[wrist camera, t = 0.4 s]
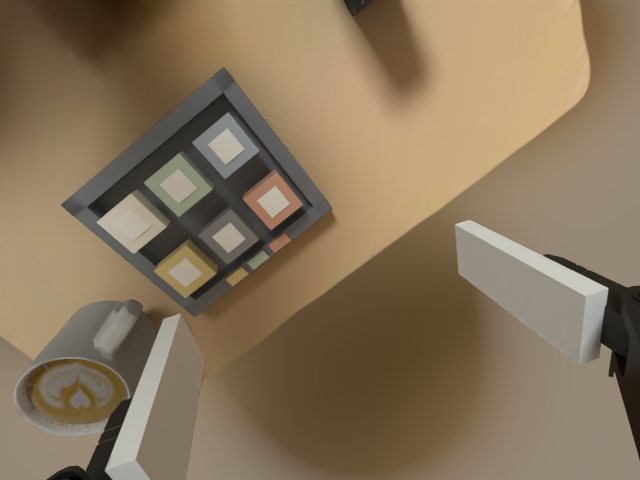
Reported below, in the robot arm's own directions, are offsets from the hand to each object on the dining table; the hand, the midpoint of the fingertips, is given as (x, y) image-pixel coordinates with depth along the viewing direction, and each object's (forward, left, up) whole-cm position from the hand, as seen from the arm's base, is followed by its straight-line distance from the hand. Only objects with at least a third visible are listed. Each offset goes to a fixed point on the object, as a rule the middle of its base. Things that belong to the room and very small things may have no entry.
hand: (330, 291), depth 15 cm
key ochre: (0, -14, -23) cm, 26 cm away
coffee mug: (+1, -26, -26) cm, 37 cm away
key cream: (-7, -13, -23) cm, 27 cm away
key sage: (-7, -7, -23) cm, 25 cm away
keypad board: (-4, -7, -26) cm, 27 cm away
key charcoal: (0, -8, -23) cm, 24 cm away
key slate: (-7, -1, -23) cm, 24 cm away
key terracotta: (0, -2, -23) cm, 23 cm away
